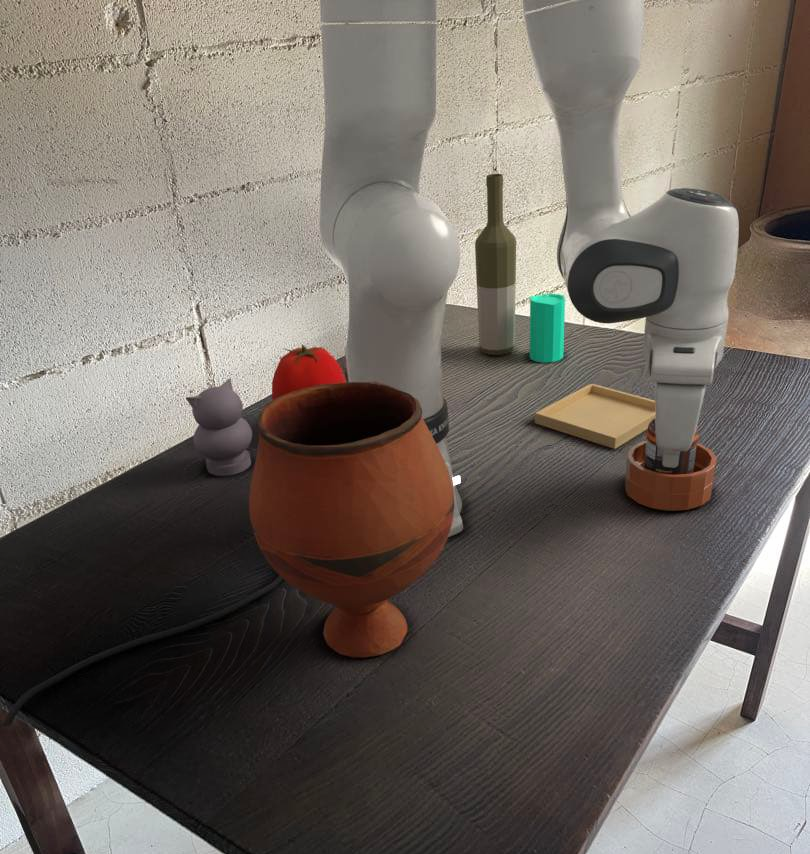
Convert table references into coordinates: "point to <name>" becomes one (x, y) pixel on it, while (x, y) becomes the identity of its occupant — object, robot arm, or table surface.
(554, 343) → the candle
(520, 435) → the table surface
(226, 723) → the table surface
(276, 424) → the goblet
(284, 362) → the tomato
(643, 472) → the bowl
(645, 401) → the tray
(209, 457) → the cat figurine
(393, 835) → the table surface
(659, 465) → the supplement bottle
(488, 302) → the bottle
